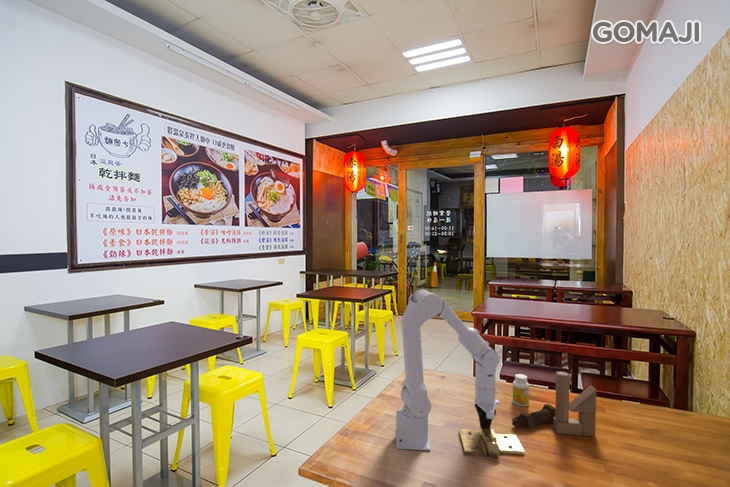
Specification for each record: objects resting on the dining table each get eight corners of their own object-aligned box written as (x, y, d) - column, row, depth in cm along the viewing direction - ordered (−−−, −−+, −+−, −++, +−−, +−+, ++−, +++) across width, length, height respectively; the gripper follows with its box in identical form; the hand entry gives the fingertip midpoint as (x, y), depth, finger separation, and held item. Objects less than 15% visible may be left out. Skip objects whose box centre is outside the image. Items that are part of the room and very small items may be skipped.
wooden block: (595, 437, 108) (596, 377, 107) (557, 434, 110) (558, 375, 109) (590, 430, 112) (591, 372, 111) (552, 427, 113) (553, 370, 113)
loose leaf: (486, 452, 101) (486, 441, 101) (480, 436, 109) (480, 425, 109) (524, 454, 100) (524, 443, 100) (515, 437, 108) (515, 427, 108)
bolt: (513, 433, 113) (550, 423, 118) (523, 433, 109) (561, 422, 114) (506, 413, 116) (543, 404, 121) (516, 412, 112) (553, 402, 117)
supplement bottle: (509, 401, 131) (509, 374, 131) (520, 398, 133) (520, 372, 133) (521, 407, 126) (521, 380, 126) (532, 404, 128) (532, 377, 128)
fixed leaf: (465, 456, 99) (465, 444, 99) (458, 432, 111) (458, 422, 111) (500, 458, 98) (500, 446, 98) (490, 434, 110) (490, 423, 110)
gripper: (505, 397, 102) (505, 445, 102) (493, 376, 116) (492, 418, 117) (479, 396, 103) (479, 443, 103) (470, 375, 117) (470, 417, 117)
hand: (485, 430), depth 110 cm, fingers closed
